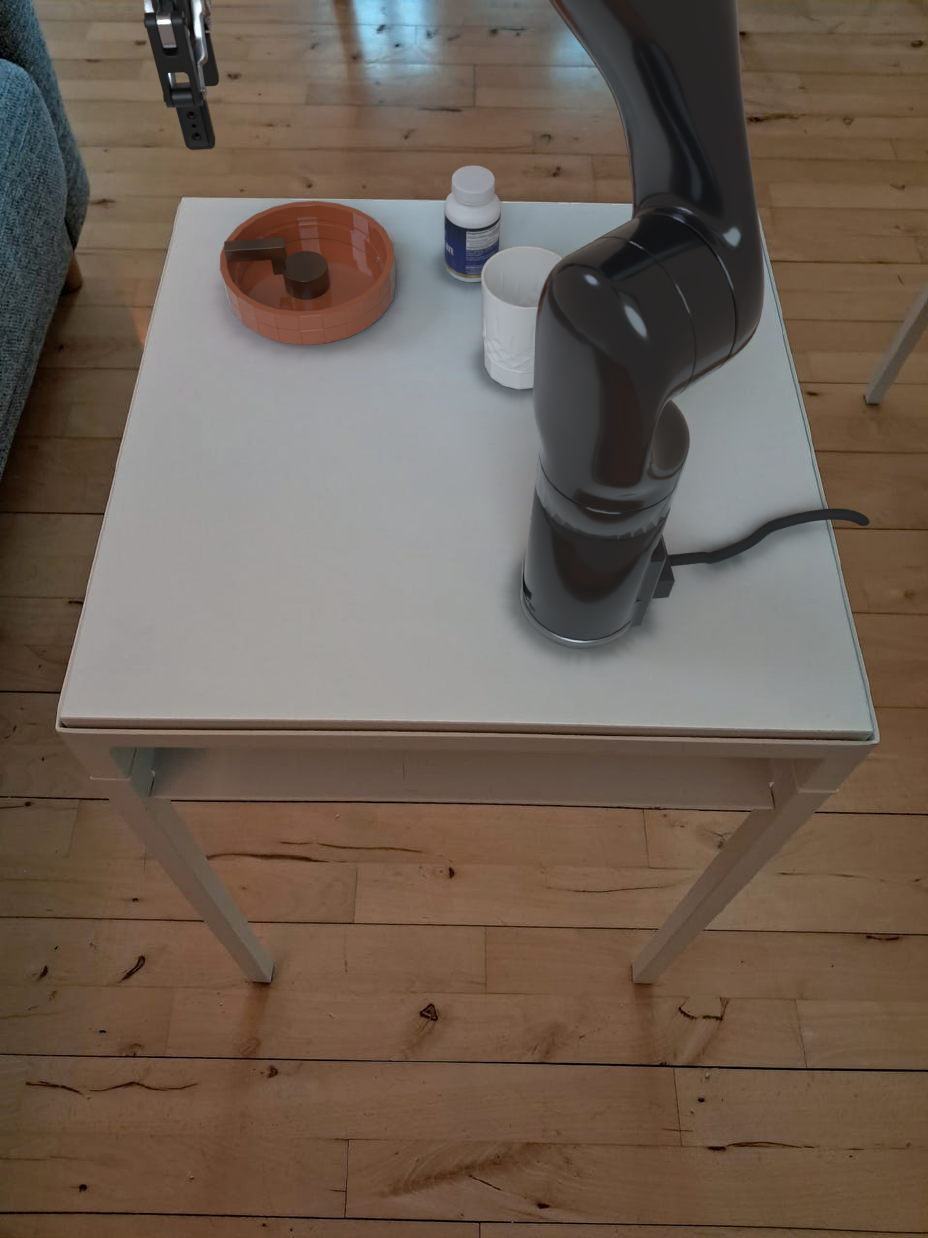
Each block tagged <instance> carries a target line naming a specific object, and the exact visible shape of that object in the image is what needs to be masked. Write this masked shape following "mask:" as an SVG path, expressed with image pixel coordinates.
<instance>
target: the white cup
mask: <svg viewBox="0 0 928 1238" xmlns="http://www.w3.org/2000/svg"><path fill="white" fill-rule="evenodd" d="M563 258H564V257H563V256H561V255H559V254H558V253H556V252H555V251H552V250H550V249H547V248H544V247H540V246H534V245H517V246H512V247H508V248H505V249H502V250H499V252H498V253H496V254H494V255H493V256H492V257H491V258H489V259H488V261H487V262H486V263H485V265H484V267H483V269H482V274H481V281H480V284H481V322H482V323H481V324H482V340H483V347H484V367H485V369H486V371H487V373H488V375H489V376H490V378H491V379H492V380H494V381H495V382H497V383H498V384H500V385H501V386H503V387H506V388H511V389H516V390H527V389H533V380H534V353H535V326H536V315H537V307H538V302H539V297H540V293H541V290H542V287H543V285H544V282H545V280H546V278H547V276H548V274H549V273H550V271H551V270H552V268H553V267H554V266H555V265H556V264H557V263H558V262H559V261H561V260H562V259H563Z"/></svg>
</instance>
